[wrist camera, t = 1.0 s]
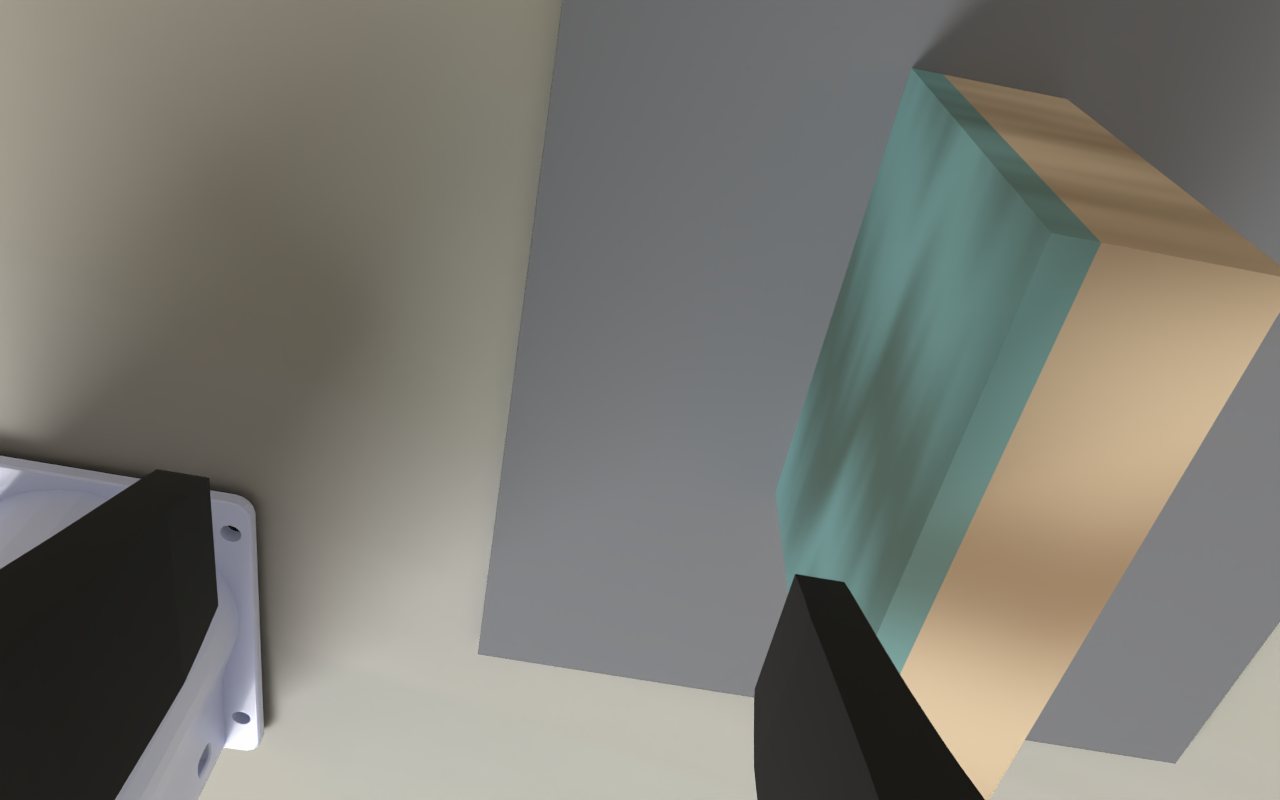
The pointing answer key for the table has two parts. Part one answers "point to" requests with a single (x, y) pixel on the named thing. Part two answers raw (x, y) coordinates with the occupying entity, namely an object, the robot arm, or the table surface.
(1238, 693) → the table surface
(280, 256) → the table surface
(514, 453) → the mat
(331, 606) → the table surface
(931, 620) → the teal and tan block
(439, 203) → the table surface
